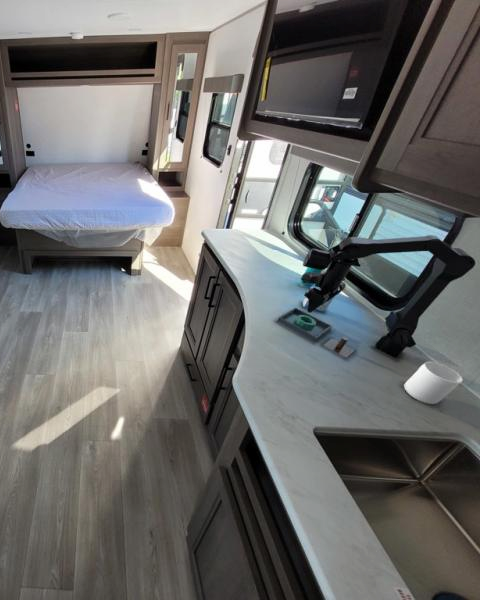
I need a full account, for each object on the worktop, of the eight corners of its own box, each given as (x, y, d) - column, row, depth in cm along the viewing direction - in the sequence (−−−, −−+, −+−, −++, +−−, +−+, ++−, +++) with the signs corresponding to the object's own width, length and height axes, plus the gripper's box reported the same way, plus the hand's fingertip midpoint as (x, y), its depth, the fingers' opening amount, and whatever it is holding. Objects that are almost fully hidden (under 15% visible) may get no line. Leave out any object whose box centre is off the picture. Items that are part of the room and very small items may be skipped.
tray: (329, 330, 121) (332, 326, 119) (313, 342, 115) (317, 337, 113) (292, 312, 130) (295, 307, 129) (276, 322, 124) (279, 317, 123)
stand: (354, 351, 112) (361, 341, 109) (345, 359, 108) (353, 348, 105) (331, 339, 117) (338, 329, 114) (322, 346, 113) (329, 336, 110)
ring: (315, 327, 122) (319, 321, 120) (307, 332, 119) (311, 327, 117) (298, 318, 126) (302, 313, 124) (291, 323, 123) (294, 318, 121)
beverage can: (308, 283, 151) (323, 255, 143) (314, 289, 147) (330, 261, 138) (296, 282, 152) (310, 254, 143) (302, 288, 147) (317, 260, 138)
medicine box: (303, 307, 133) (312, 291, 128) (302, 302, 137) (311, 286, 132) (324, 313, 131) (334, 296, 126) (323, 307, 134) (333, 291, 129)
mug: (396, 372, 104) (417, 350, 98) (428, 382, 101) (451, 360, 95) (406, 397, 95) (429, 375, 89) (441, 409, 92) (468, 387, 86)
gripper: (323, 258, 118) (304, 291, 127) (299, 269, 109) (281, 305, 118) (356, 270, 111) (334, 305, 120) (333, 284, 102) (311, 320, 111)
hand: (314, 308), depth 117 cm, fingers open, 9 cm apart
